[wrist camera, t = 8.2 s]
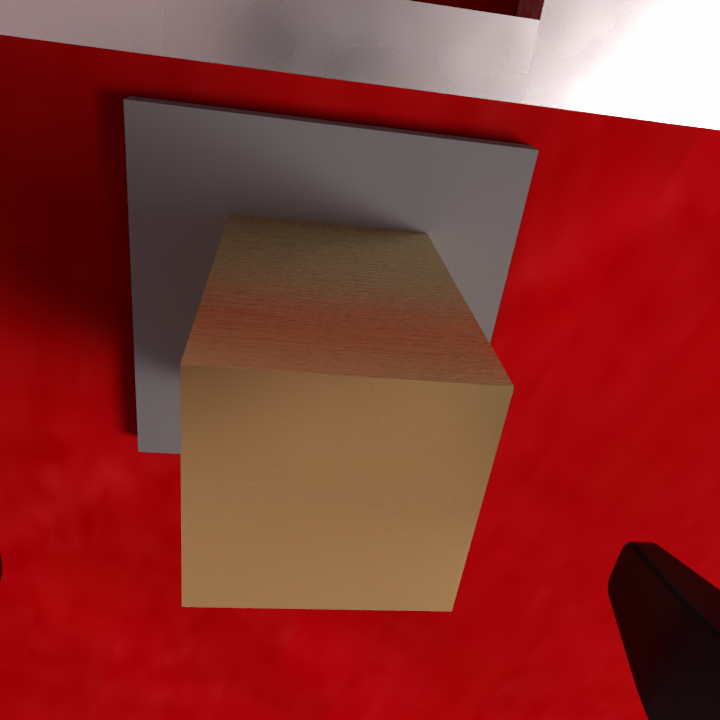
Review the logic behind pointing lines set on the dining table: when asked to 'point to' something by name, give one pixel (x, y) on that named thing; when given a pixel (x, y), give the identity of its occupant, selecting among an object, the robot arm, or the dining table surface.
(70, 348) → the dining table surface
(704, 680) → the robot arm
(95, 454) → the dining table surface
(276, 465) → the brass block
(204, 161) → the pad
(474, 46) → the rail
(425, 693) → the dining table surface
